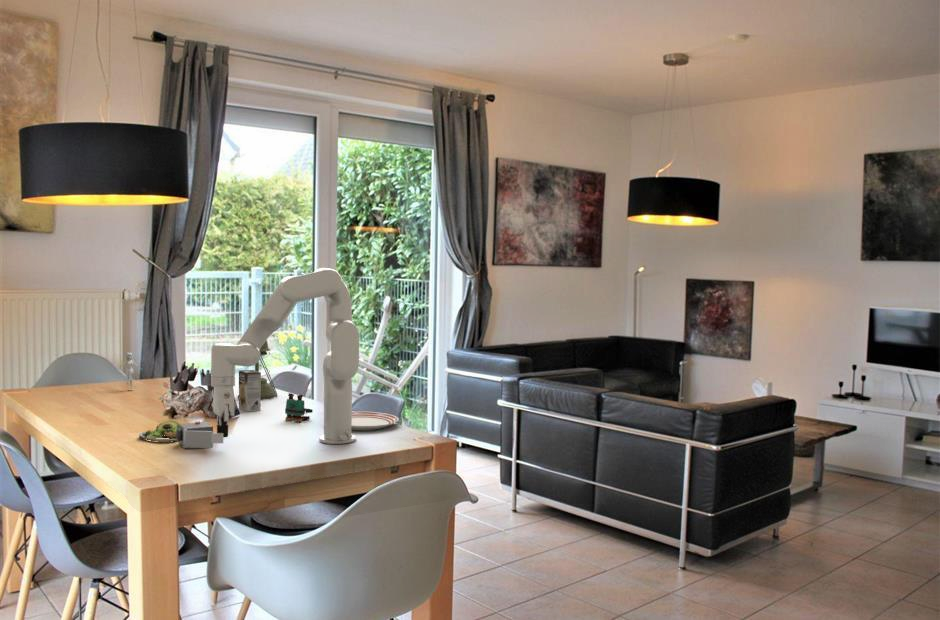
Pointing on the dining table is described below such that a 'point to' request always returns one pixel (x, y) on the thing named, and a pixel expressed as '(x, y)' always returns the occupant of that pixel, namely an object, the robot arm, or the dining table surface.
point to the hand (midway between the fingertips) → (222, 436)
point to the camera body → (192, 429)
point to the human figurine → (129, 368)
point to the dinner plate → (372, 420)
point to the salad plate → (162, 432)
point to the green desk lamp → (266, 388)
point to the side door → (201, 439)
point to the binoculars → (296, 409)
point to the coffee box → (249, 390)
